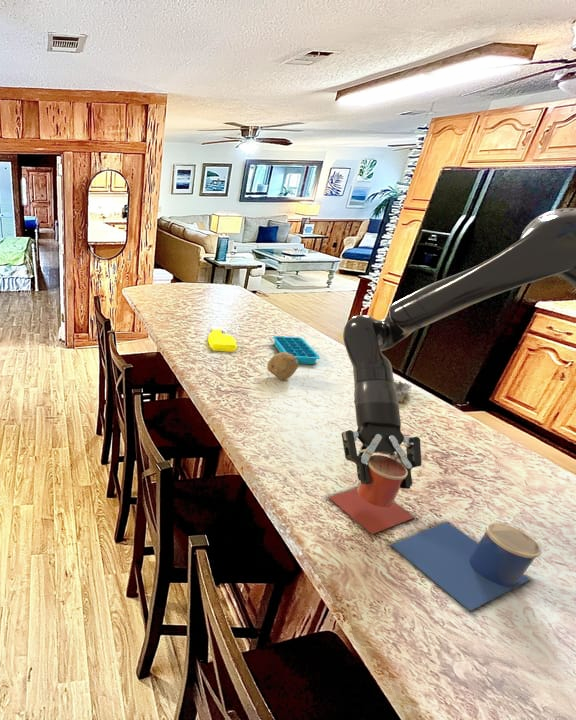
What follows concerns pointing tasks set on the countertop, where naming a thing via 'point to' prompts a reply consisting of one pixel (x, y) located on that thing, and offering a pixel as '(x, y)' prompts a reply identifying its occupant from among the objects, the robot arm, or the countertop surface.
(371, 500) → the red tapered cylinder
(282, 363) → the natural sponge
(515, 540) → the blue crock
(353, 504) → the rust mat
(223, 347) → the yellow lump
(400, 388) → the egg carton
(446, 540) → the blue mat
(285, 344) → the ice cube tray
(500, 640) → the countertop surface
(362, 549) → the countertop surface
